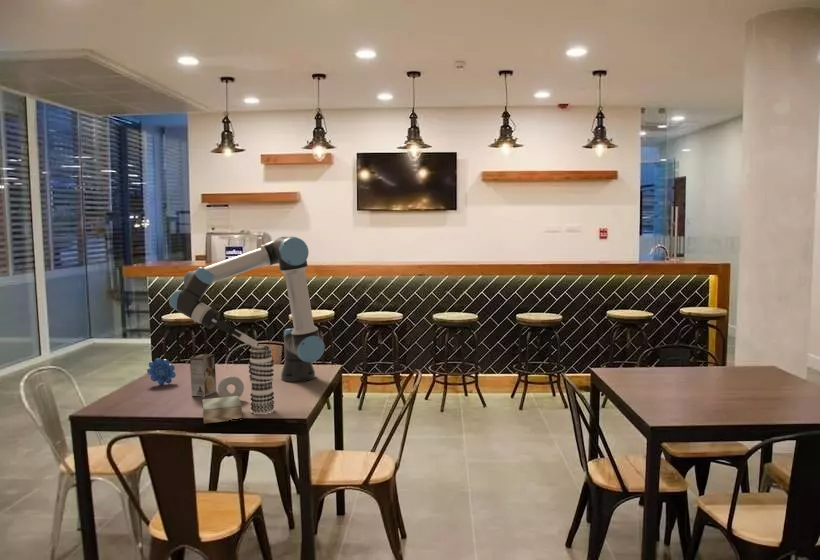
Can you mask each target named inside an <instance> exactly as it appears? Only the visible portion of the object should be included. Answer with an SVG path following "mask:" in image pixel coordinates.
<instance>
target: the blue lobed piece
mask: <svg viewBox="0 0 820 560" xmlns="http://www.w3.org/2000/svg"><path fill="white" fill-rule="evenodd" d="M148 367H149V368H148V369H146V374H147V375H149V376H150V380H151V381H152V382H157V384H158V385H161V386H163V385H164V384H165V383H166V384H171V383H172V382H173V380H172V379H174V378H175V377H176V372H175V369H176V368H175V365H173V364H171V363H170V361H169V360H168V359H166V358H164V359H161V358H159V357H157V358H155V359H154V361H150V362H149V363H148Z"/></svg>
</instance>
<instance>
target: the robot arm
mask: <svg viewBox="0 0 820 560" xmlns="http://www.w3.org/2000/svg"><path fill="white" fill-rule="evenodd" d="M309 254H310V253H309V247H308V245H307V243H306V242H305V241H304V240H303V239H301V238H300V237H297V236H281V237H278V238H275V239H273V240H272V241H268V242H267V243H264V244H262V245H260V246H259V248H256V249H254V250H251V251H248V252H245V253H242V254H239V255H237V256H234V257H231V258H227V259H224V260H222V261H219V262H216V263H213V264H210V265H207V266H204V267H202V266H199V267H197V269H196V270H190V271H188V272H186V273H184V277H183V283H184V285H185V286H184V288H183V290H181V289H176V291H174V292H173V293H172V294H171V296H170V298H169V300H168V301H169V303H168V304H169V306H170V308H172V309H174V310H175V311H177V312H179V313H180V314H183V316H186V317H188V318H190V319H191V320H193V322H194V323H198V324H200V325H201V326H203V327H205V328H206V329H207V330H208V329H209V330H211V329H213V328H214V327H215V328H216V329H218V330H220V331H223V332H224V333H227V336H229V337H231V336H232V337H234V338H236V339H238V340H239V341H240V342H241V341H242V342H243V343H245V344H246V345H249V346H251V347H252V346H254V345H257V344H259V341H258V340H256V339H254V338H252V337H251V336H248V334H246V332H245V331H243V332H242V331H240V330H238V329H236V328H235V327H232V324H230V323H228V322H227V321H226V320H224V319H222V318H221V312H220V311H218V310H216V309H215V308H212V307H211V306H209V305H207V304H205V303H204V302H202V301H201V299H202V298H203V296H204V295H205V293H207V291H208V289H209V287H210V286H211V285H212V284H215V283H218V282H221V281H224V280H226V279H229V278H231V277H235V276H237V275H241V274H243V273H246V272H249V271H252V270H254V269H257V268H260V267H263V266H267V267H271V266H273V265H279V271H280V272H282V273H283V274H284V279H285V284H286V290H287V296H288V301H289V307H290V313H291V319H292V324H293V328H286V329H285V330H283V345H284V346H283V348H284V349H283V350H284V364H283V367H282V370H281V375H280V376H281V378H280V379H281V380H282V381H284V382H291V383H292V382H293V383H294V382H295V383H296V382H297V383H299V382H301V383H302V382H306V381H307V380H308V381H310V380H311V381H312V380H313V379H315V378H316V372H315V368H314V366H313V363H314V362H316V361H318V360H319V359H320V358H321V357H322V356H323V355H324V351H325V343H324V341H323V339H322V338H321V337H320V331H319V328H318V327H317V325H315V324H314V318H313V312H312V307H311V306H312V304H311V300H310V295H309V294H310V293H309V288H308V282H307V277H306V276H307V275H306V269H308V260H307V259H308V257H309ZM308 381H307V382H308Z"/></svg>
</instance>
